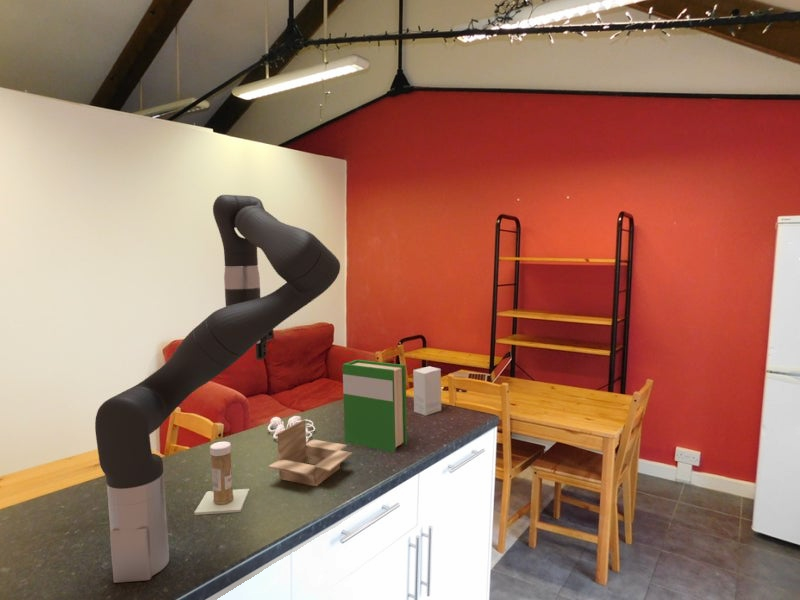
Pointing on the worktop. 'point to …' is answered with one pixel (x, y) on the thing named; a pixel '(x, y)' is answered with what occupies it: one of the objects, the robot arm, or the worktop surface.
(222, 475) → the sprinkles bottle
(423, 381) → the skincare box
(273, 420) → the tangled rod sculpture
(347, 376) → the hardback book
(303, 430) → the carton
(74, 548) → the worktop surface
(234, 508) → the coaster
